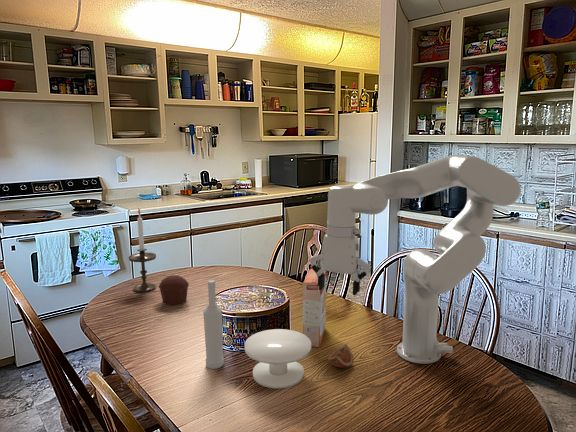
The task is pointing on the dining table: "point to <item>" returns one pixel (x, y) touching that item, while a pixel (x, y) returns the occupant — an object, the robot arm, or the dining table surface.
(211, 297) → the bottle
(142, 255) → the candlestick
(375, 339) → the dining table surface
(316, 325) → the cracker box
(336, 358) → the fruit slice
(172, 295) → the muffin
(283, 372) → the cake stand
